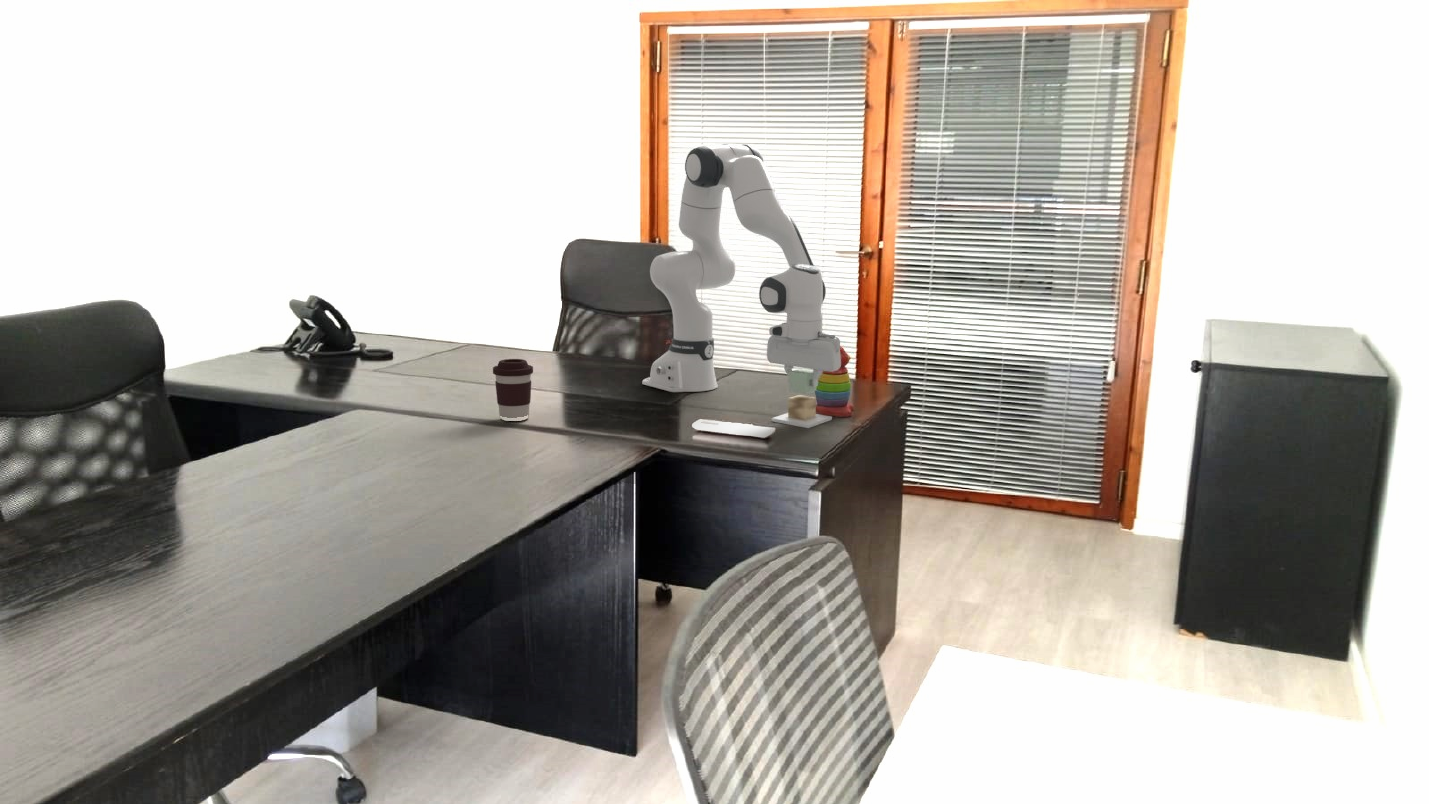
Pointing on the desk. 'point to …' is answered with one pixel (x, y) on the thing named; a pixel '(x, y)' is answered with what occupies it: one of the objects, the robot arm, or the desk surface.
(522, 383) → the coffee cup
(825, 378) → the stacking bear
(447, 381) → the desk surface
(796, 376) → the sage block
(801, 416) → the oak block
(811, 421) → the plate
